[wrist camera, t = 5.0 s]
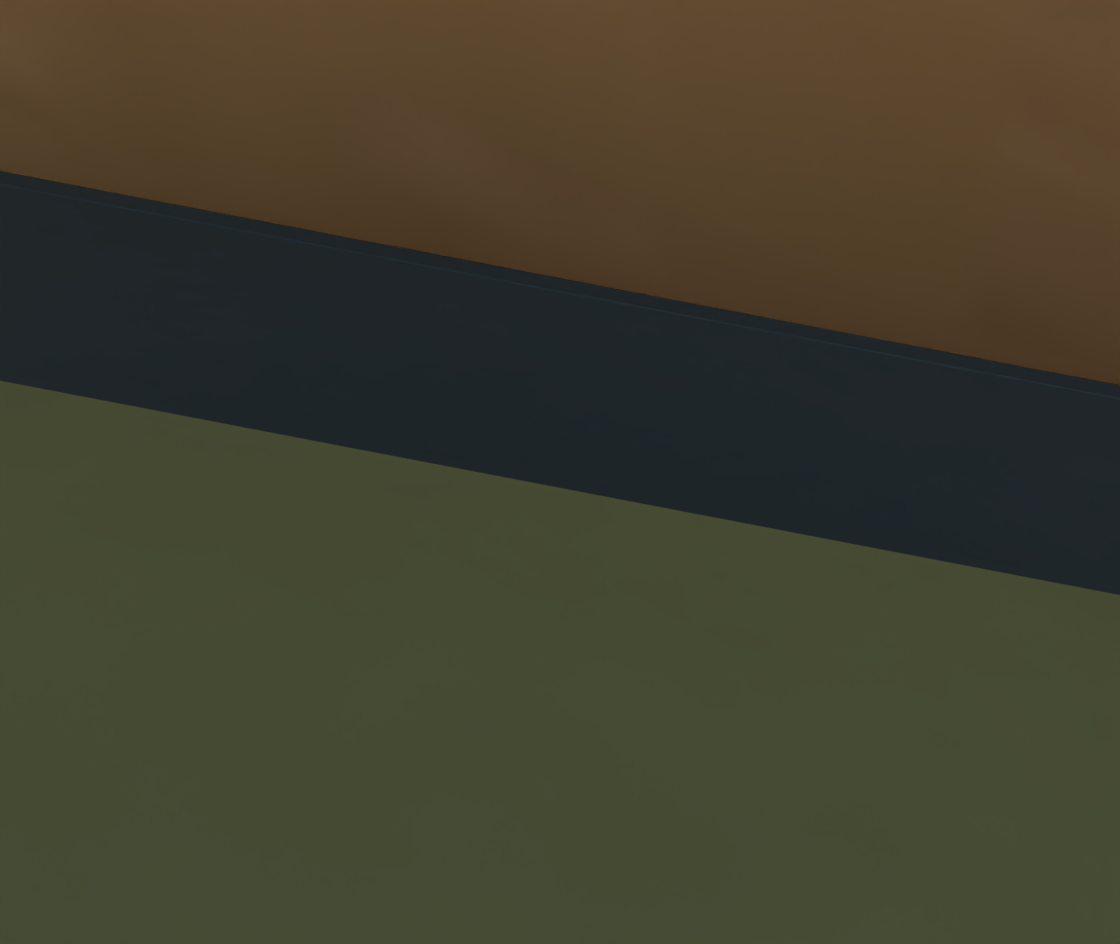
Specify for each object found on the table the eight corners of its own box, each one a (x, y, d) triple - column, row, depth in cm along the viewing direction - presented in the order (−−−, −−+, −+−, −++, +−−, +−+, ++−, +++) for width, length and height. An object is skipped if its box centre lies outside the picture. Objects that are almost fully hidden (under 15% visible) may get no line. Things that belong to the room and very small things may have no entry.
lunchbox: (1003, 1091, 18) (1144, 1524, 13) (-30, 893, 18) (-301, 1247, 13) (1436, 444, 11) (2060, 790, 6) (-164, 139, 11) (-810, 240, 6)
